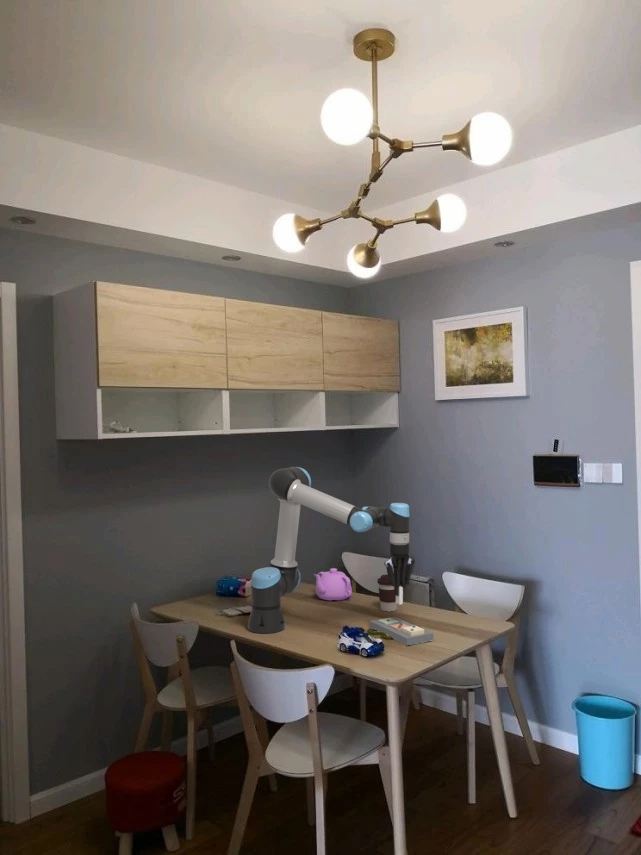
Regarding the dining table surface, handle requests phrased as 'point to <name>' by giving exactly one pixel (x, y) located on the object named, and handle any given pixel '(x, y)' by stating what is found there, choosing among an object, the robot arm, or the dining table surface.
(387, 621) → the tile one
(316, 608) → the dining table surface
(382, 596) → the coffee cup
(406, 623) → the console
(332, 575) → the teapot
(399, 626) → the tile three
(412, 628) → the tile two
